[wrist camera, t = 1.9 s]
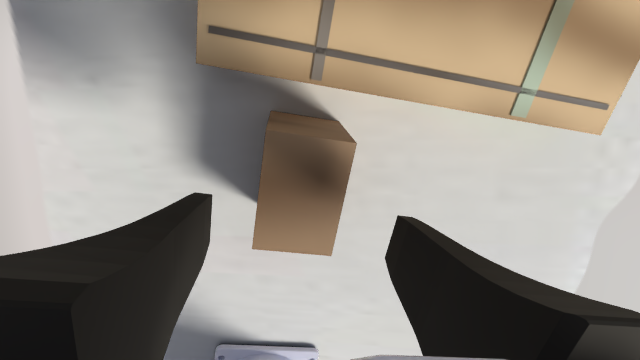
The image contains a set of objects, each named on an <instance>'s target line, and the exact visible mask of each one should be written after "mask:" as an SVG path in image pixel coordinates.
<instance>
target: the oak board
mask: <svg viewBox="0 0 640 360" xmlns="http://www.w3.org/2000/svg"><path fill="white" fill-rule="evenodd" d="M639 59H640V0H198V14H197V47H196V63H198V64H203V65H209V66H215V67H220V68H226V69H232V70H237V71H243V72H248V73H254V74H260V75H265V76H271V77H276V78H282V79H288V80H293V81H299V82H305V83H310V84H316V85H321V86H327V87H333V88H338V89H344V90H349V91H355V92H361V93H366V94H372V95H377V96H383V97H389V98H394V99H400V100H406V101H411V102H417V103H422V104H428V105H434V106H439V107H445V108H450V109H456V110H462V111H467V112H473V113H479V114H484V115H490V116H495V117H501V118H507V119H512V120H518V121H523V122H529V123H535V124H540V125H546V126H552V127H557V128H563V129H568V130H574V131H580V132H585V133H591V134H596V135H601V133H602V131H603V130H604V128H605V126H606V124H607V122H608V120H609V118H610V116H611V114H612V112H613V110H614V108H615V106H616V104H617V102H618V100H619V98H620V96H621V94H622V92H623V91H624V89H625V87H626V85H627V83H628V81H629V79H630V77H631V75H632V73H633V71H634V69H635V67H636V65H637V63H638V61H639Z"/></svg>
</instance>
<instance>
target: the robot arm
mask: <svg viewBox="0 0 640 360" xmlns="http://www.w3.org/2000/svg"><path fill="white" fill-rule="evenodd" d="M211 210H212V194H203V193H193V194H190V195H188V196H186V197H184V198H183V199H181V200H179V201H177V202H175V203H173V204H171V205H169V206H167V207H165V208H163V209H161V210H159V211H157V212H155V213H153V214H151V215H148V216H146V217H144V218H142V219H140V220H137V221H135V222H133V223H130V224H128V225H125V226H122V227H120V228H117V229H114V230H111V231H108V232H105V233H102V234H99V235H95V236H91V237H88V238H84V239H80V240H77V241H73V242H69V243H66V244H61V245H57V246H52V247H48V248H43V249H38V250H33V251H28V252H22V253H17V254H10V255H5V256H0V360H163V358H164V355H165V352H166V349H167V347H168V344H169V341H170V338H171V335H172V332H173V329H174V327H175V325H176V322H177V320H178V317H179V315H180V313H181V311H182V309H183V307H184V304H185V302H186V300H187V298H188V296H189V294H190V292H191V290H192V287H193V285H194V283H195V281H196V279H197V277H198V274H199V272H200V270H201V268H202V266H203V263H204V260H205V256H206V253H207V250H208V246H209V243H210V228H211ZM385 260H386V264H387V268H388V271H389V275H390V278H391V281H392V283H393V286H394V288H395V290H396V292H397V295H398V297H399V299H400V301H401V303H402V306H403V308H404V310H405V312H406V314H407V317H408V319H409V321H410V323H411V325H412V327H413V330H414V332H415V335H416V337H417V340H418V342H419V345H420V348H421V351H422V354H423V356H402V355H376V356H369V357H363V358H357V359H351V360H640V313H638V312H635V311H633V310H629V309H625V308H621V307H618V306H614V305H610V304H606V303H603V302H599V301H595V300H592V299H588V298H585V297H581V296H579V295H575V294H572V293H569V292H566V291H563V290H560V289H557V288H554V287H552V286H549V285H546V284H543V283H541V282H538V281H536V280H533V279H530V278H528V277H525V276H523V275H520V274H518V273H516V272H513V271H511V270H509V269H507V268H505V267H502V266H500V265H498V264H496V263H494V262H492V261H490V260H488V259H486V258H484V257H482V256H480V255H478V254H476V253H475V252H473V251H471V250H469V249H467V248H466V247H464V246H462V245H460V244H459V243H457V242H455V241H454V240H452V239H450V238H449V237H447V236H445V235H444V234H442V233H440V232H439V231H437V230H435V229H434V228H432V227H430V226H429V225H427V224H425V223H423V222H421V221H420V220H418V219H415V218H413V217H406V216H397V220H396V223H395V226H394V230H393V233H392V236H391V240H390V243H389V246H388V249H387V253H386V256H385ZM318 357H319V352H318V349H316V348H306V347H279V346H252V345H226V344H222V345H219V346H217V347H216V350H215V359H214V360H318Z"/></svg>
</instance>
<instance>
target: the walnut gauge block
mask: <svg viewBox="0 0 640 360" xmlns="http://www.w3.org/2000/svg"><path fill="white" fill-rule="evenodd" d="M356 144H357V143H356V142H355V141H354V139H353V138H352V137H351V136H350V134H349V133H348V132H347V131H346V130H345V128H344V127H343V126H342V125H341V123H340V122H339V121H333V120H326V119H320V118H314V117H308V116H302V115H295V114H289V113H283V112H277V111H271V112H270V116H269V120H268V124H267V127H266V133H265V141H264V150H263V159H262V167H261V176H260V185H259V193H258V202H257V211H256V219H255V228H254V237H253V245H252V249H257V250H269V251H280V252H292V253H303V254H315V255H326V256H331V255H332V251H333V246H334V242H335V237H336V233H337V228H338V224H339V220H340V215H341V211H342V206H343V202H344V198H345V193H346V189H347V184H348V180H349V175H350V171H351V167H352V162H353V158H354V153H355V149H356Z"/></svg>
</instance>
